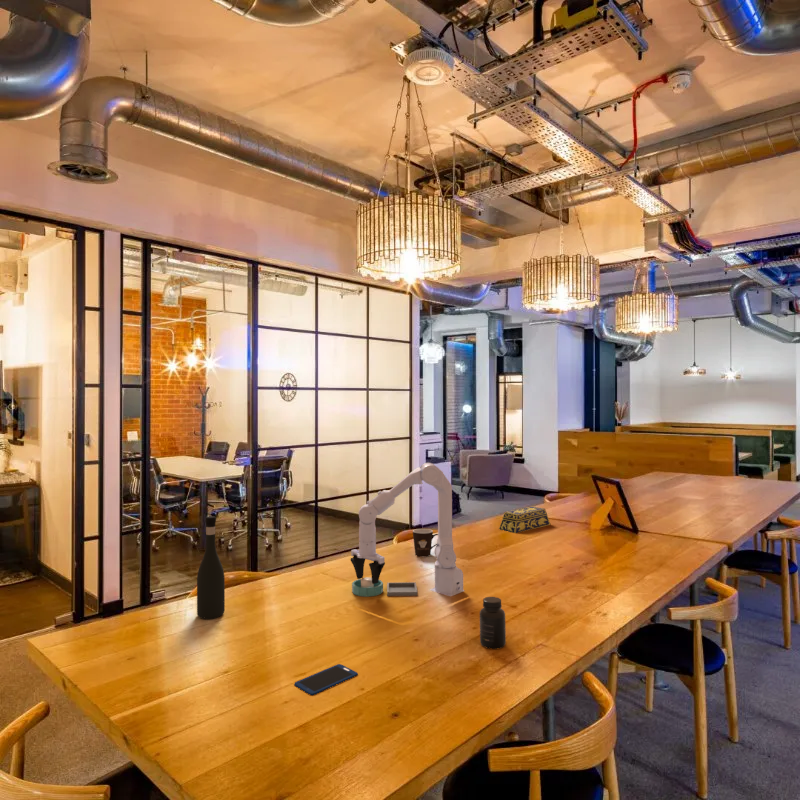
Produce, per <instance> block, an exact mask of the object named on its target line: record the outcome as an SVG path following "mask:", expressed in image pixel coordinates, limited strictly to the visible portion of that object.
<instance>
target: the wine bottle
mask: <svg viewBox="0 0 800 800" xmlns="http://www.w3.org/2000/svg"><path fill="white" fill-rule="evenodd" d="M216 521H217V517H216V516H213V515H210V516H206V517H205V534H206V535H205V538H206V539H205V540H206V543H205V545H206V546H205V551H204V553H203V558H202V559H201V563H200V565H199V568H198V571H197V576H196V577H197V578H196V614H197V616H198V618H200V619H203V620H212V619H216V618H219V617H221V616H222V615H223V614H224V613H225V607H226V606H225V604H226V603H225V602H226V601H225V594H226V593H225V586H226V585H225V581H226V580H225V579H226V577H225V572H224V571H225V570H224V567H223V564H222V562H221V560H220V557H219V554H218V552H217V548H216V523H217V522H216Z"/></svg>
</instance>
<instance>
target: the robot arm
mask: <svg viewBox="0 0 800 800" xmlns="http://www.w3.org/2000/svg"><path fill="white" fill-rule="evenodd" d="M423 482H424V483H425V484H427V485H429V486H432V487H433V488H434V489H435V490H436V491H437V525H438V526H437V534H438V535H437V539H436V544H437V545H436V546H435V547H434V556H435V558H436V561H435V562H434V587H433V588H430V589H429V591H432V592H434V593H439V594H441V595H445V596H447V597H452V596H453V597H454V596H455V595H458V594H460V593H463V592H465V590H464V573H463V571H462V569H461V568H458V566H457V565H456V564H457V555H456V553H455V550H454V542H453V486H452V484H451V483H450V481H449V479H448V478H447V477H446V475H445V474H444V471H443V470H441V469H440V468H439V467H438V466H436V465H435V464H434V463H432V462H425V463H423V464H421V466H418V467H417V468H414V469H413V470H412V471H411V472H410V473H408V474H406V476H404V478H402V479H401V480H400V481H398V483H397V484H395V485H394V486H393V487H392V488H391V489H389V490H386V489H383V490H382V491H381V490H379V491H378V492H377V495H376V496H374V498H372V499H371V500H366V504H363V505H362V506H361V507H360V508H359V510H358V517H359V522H358V524H359V526H358V549H356V548H355V549H351V554H350V555H351V557H350V562H351V564H352V566H353V568H354V572H355V575H356V580H358V579H362V578H364V568H365V563H366V562H365V561H366V560H369V561H371V562H370V563H368V565H369V569H370V573H371V578H372V584H376V583H378V581H379V580H380V576H381V573H382V571H383V568H384V566H385V564H386V562H385V556H384V555H383V556H382V555H381V554H379V553H377V529H376V527H377V526H376V519H377V516H380V515H382V514H383V513H384V512H386V510H388V509H389V508H390V507H392V506H393V505H394V504H395V501H396V498H397V497H399V496H400V495H401V494H402V493H404V492H405V491H407V490H408V489H409V488H411V487H413V486H414V485H423Z"/></svg>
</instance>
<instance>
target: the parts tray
mask: <svg viewBox="0 0 800 800" xmlns="http://www.w3.org/2000/svg"><path fill="white" fill-rule="evenodd" d="M386 583H387V584H386V589H387V590H386V595H387V597H408V596H409V597H412V596H413V597H417V596H418V588H417V583H416V581H415V582H414V581H411V582H410V581H409V582H407V581H406V582H405V581H403V582H402V581H401V582H386Z"/></svg>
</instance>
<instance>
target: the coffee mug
mask: <svg viewBox="0 0 800 800" xmlns="http://www.w3.org/2000/svg"><path fill="white" fill-rule="evenodd" d="M433 532H434V530H432V529H431V528H416V529H413V530H412V537H413V547H414V553H415V554H414V555H415V556H416V555H417V557H420V556H426V557H429V556H428V555H430V556H431V553H432V552H431V551H432V549H433V548H436V546H437V543H435V544H433V545H432V541H433V539H434V538H435V536H438V533H434V534H433Z"/></svg>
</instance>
